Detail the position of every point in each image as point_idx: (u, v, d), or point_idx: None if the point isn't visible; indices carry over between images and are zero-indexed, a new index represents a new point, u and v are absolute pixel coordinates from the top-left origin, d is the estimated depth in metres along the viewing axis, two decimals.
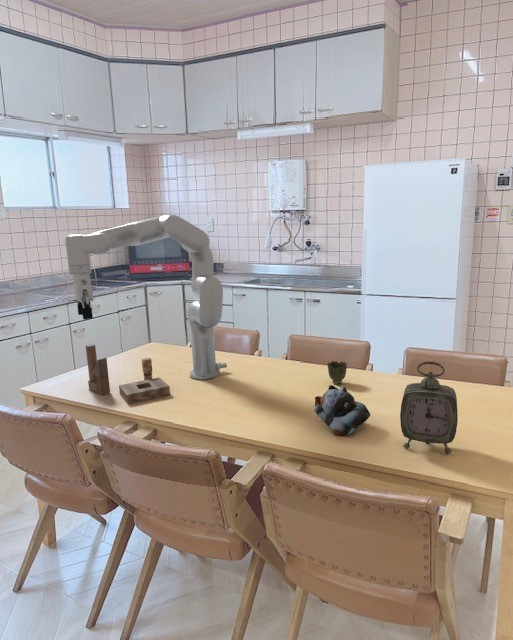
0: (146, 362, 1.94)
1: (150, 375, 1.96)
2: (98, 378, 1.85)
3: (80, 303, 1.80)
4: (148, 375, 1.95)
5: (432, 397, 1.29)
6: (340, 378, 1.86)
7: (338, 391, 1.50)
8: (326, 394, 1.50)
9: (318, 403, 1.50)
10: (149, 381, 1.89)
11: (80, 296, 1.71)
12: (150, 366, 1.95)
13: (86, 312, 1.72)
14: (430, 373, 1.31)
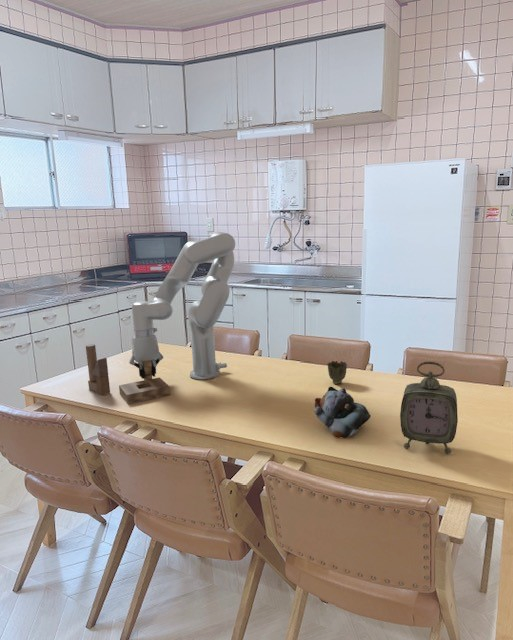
0: (146, 362, 1.94)
1: (150, 375, 1.96)
2: (98, 378, 1.85)
3: (142, 367, 1.95)
4: (148, 375, 1.95)
5: (432, 397, 1.29)
6: (340, 378, 1.86)
7: (338, 392, 1.49)
8: (326, 396, 1.49)
9: (318, 405, 1.48)
10: (149, 381, 1.89)
11: (159, 353, 1.96)
12: (150, 366, 1.95)
13: None
14: (430, 373, 1.31)
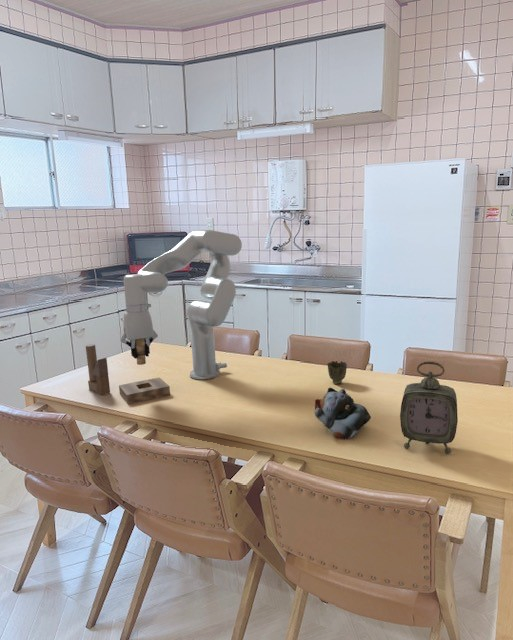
0: (139, 340, 1.78)
1: (143, 355, 1.80)
2: (98, 378, 1.85)
3: (134, 346, 1.79)
4: (141, 355, 1.80)
5: (432, 397, 1.29)
6: (340, 378, 1.86)
7: (338, 393, 1.48)
8: (326, 397, 1.48)
9: (318, 406, 1.47)
10: (149, 381, 1.89)
11: (152, 331, 1.80)
12: (143, 345, 1.80)
13: None
14: (430, 373, 1.31)
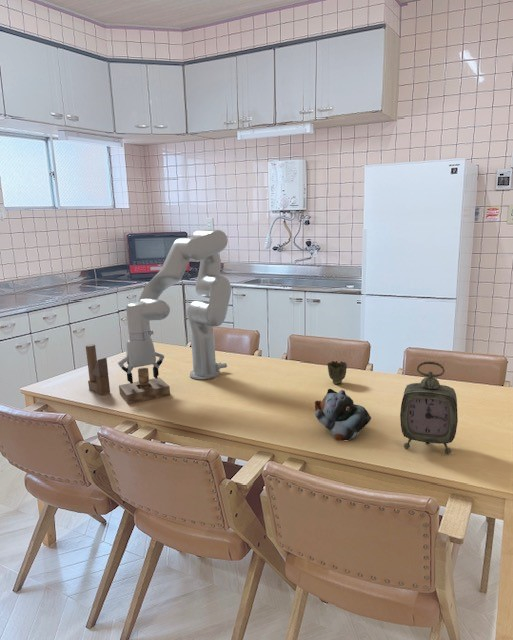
0: (142, 372, 1.81)
1: (146, 386, 1.83)
2: (98, 378, 1.85)
3: (130, 371, 1.80)
4: (145, 386, 1.83)
5: (432, 397, 1.29)
6: (340, 378, 1.86)
7: (338, 395, 1.47)
8: (326, 398, 1.47)
9: (318, 408, 1.46)
10: (149, 381, 1.89)
11: (155, 357, 1.83)
12: (147, 376, 1.83)
13: None
14: (430, 373, 1.31)
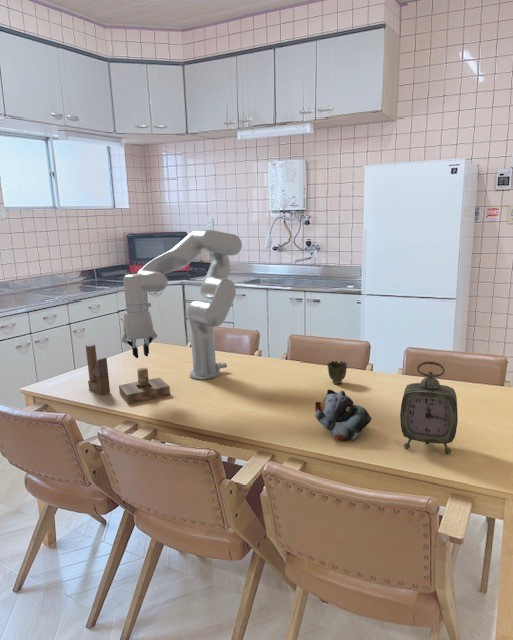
0: (142, 372, 1.81)
1: (146, 386, 1.83)
2: (98, 378, 1.85)
3: None
4: (144, 386, 1.83)
5: (432, 397, 1.29)
6: (340, 378, 1.86)
7: (338, 395, 1.47)
8: (326, 399, 1.46)
9: (319, 409, 1.45)
10: (149, 381, 1.89)
11: (153, 330, 1.80)
12: (146, 377, 1.82)
13: None
14: (430, 373, 1.31)
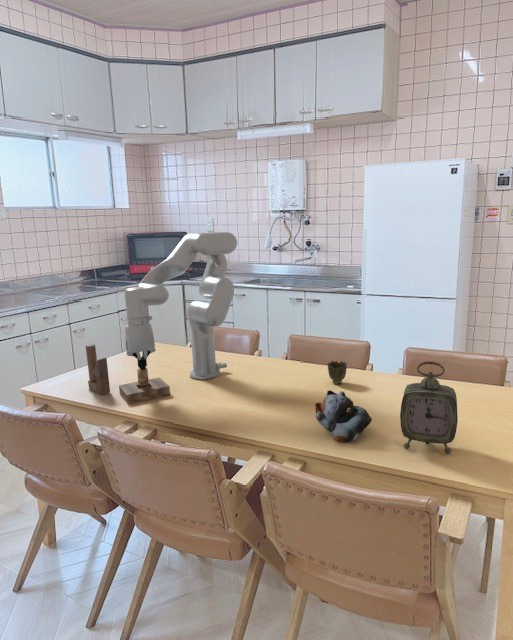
0: (142, 372, 1.81)
1: (146, 386, 1.83)
2: (98, 378, 1.85)
3: (141, 358, 1.81)
4: (144, 386, 1.83)
5: (432, 397, 1.29)
6: (340, 378, 1.86)
7: (338, 396, 1.46)
8: (327, 400, 1.45)
9: (319, 410, 1.45)
10: (149, 381, 1.89)
11: (154, 343, 1.82)
12: (146, 376, 1.82)
13: None
14: (430, 373, 1.31)
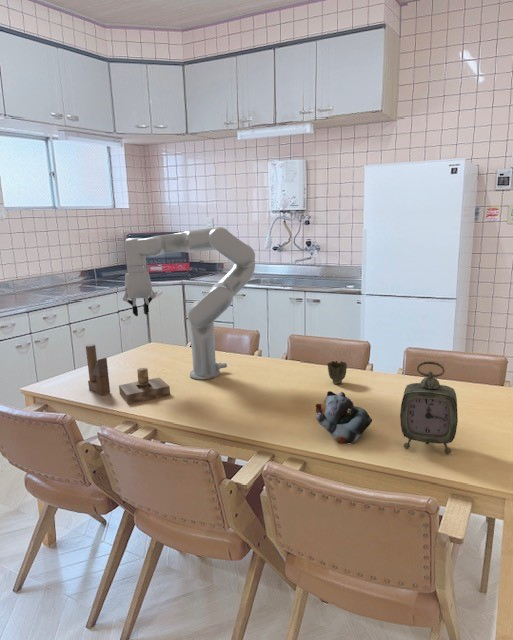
0: (142, 372, 1.81)
1: (146, 386, 1.83)
2: (98, 378, 1.85)
3: (135, 305, 1.95)
4: (144, 386, 1.83)
5: (432, 397, 1.29)
6: (340, 378, 1.86)
7: (338, 397, 1.46)
8: (327, 401, 1.44)
9: (319, 411, 1.44)
10: (149, 381, 1.89)
11: (152, 290, 1.96)
12: (146, 377, 1.82)
13: None
14: (430, 373, 1.31)
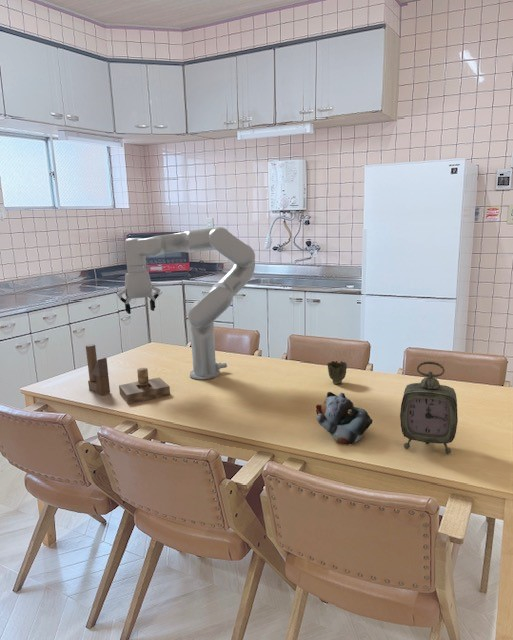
0: (142, 372, 1.81)
1: (146, 386, 1.83)
2: (98, 378, 1.85)
3: (128, 302, 1.94)
4: (144, 386, 1.83)
5: (432, 397, 1.29)
6: (340, 378, 1.86)
7: (339, 398, 1.45)
8: (327, 402, 1.44)
9: (320, 412, 1.43)
10: (149, 381, 1.89)
11: None
12: (146, 377, 1.82)
13: None
14: (430, 373, 1.31)
